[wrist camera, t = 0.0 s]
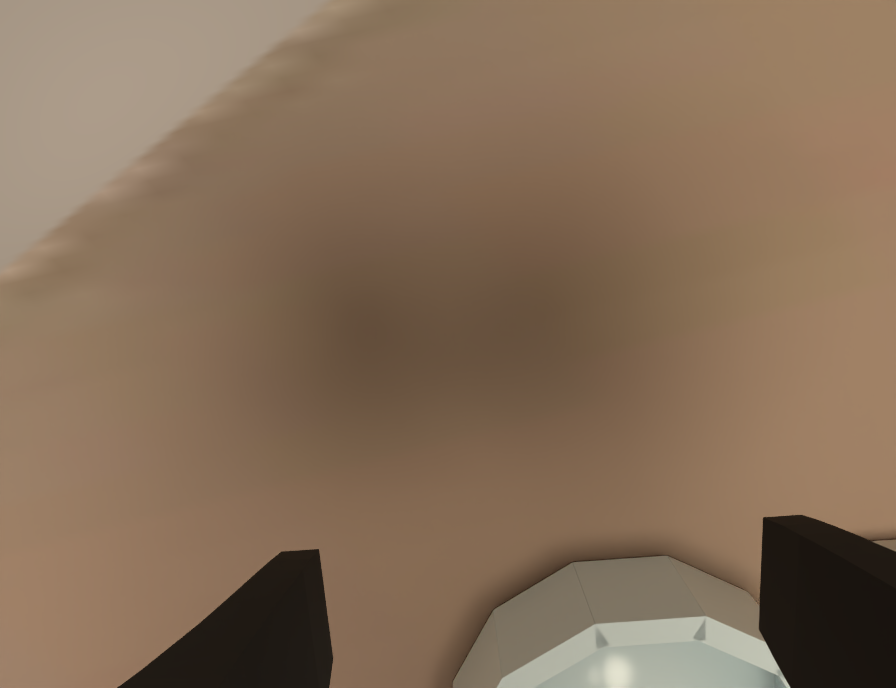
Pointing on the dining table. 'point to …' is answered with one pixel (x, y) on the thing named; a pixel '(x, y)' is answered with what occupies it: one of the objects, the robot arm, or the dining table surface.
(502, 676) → the bowl
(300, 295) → the dining table surface
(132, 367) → the dining table surface
